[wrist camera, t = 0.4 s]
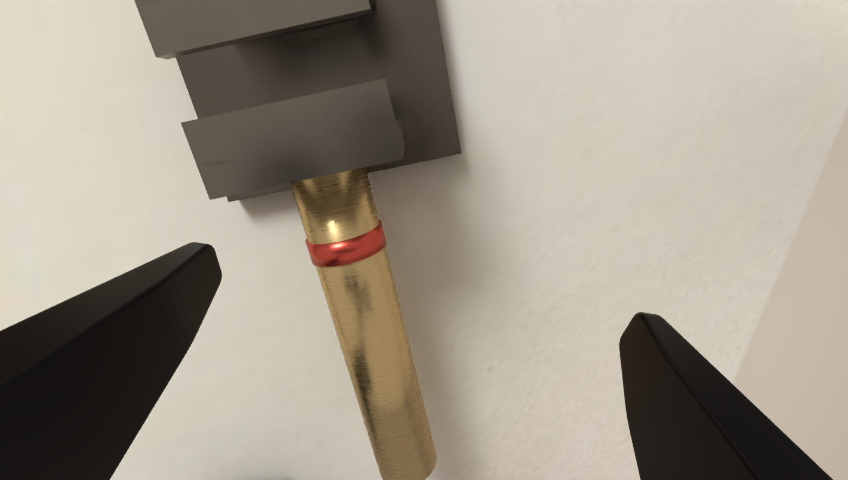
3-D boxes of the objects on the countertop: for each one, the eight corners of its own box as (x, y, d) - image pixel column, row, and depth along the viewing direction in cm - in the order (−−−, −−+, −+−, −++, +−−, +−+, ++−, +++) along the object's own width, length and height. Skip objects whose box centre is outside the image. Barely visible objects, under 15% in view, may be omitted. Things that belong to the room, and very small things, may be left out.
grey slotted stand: (459, 151, 21) (483, 172, 14) (236, 197, 21) (149, 241, 14) (424, -54, 18) (430, -159, 11) (167, 5, 18) (17, -59, 11)
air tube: (436, 431, 24) (440, 483, 20) (380, 442, 24) (374, 494, 20) (360, 118, 18) (349, 120, 15) (287, 134, 18) (260, 139, 15)
